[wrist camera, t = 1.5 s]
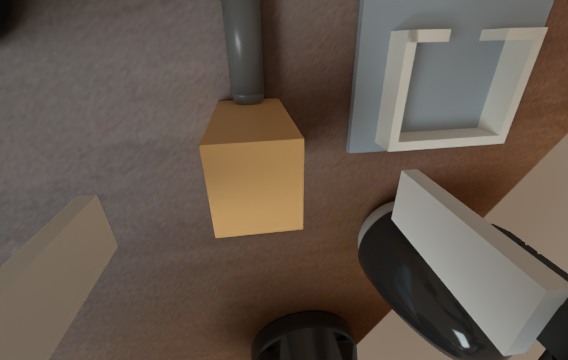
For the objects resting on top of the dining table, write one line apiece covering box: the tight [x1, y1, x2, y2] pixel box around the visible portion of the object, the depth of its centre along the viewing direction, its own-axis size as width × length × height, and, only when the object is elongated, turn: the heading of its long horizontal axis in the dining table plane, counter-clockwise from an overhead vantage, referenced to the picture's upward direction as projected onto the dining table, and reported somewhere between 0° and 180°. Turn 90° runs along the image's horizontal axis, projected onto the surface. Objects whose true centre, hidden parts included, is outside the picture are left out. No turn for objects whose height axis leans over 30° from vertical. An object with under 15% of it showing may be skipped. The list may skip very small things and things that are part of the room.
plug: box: [199, 0, 304, 238], centre depth 16 cm, size 16×5×11 cm, turn 1°
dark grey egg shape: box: [358, 201, 512, 360], centre depth 24 cm, size 10×10×15 cm
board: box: [346, 0, 554, 153], centre depth 21 cm, size 19×16×3 cm
